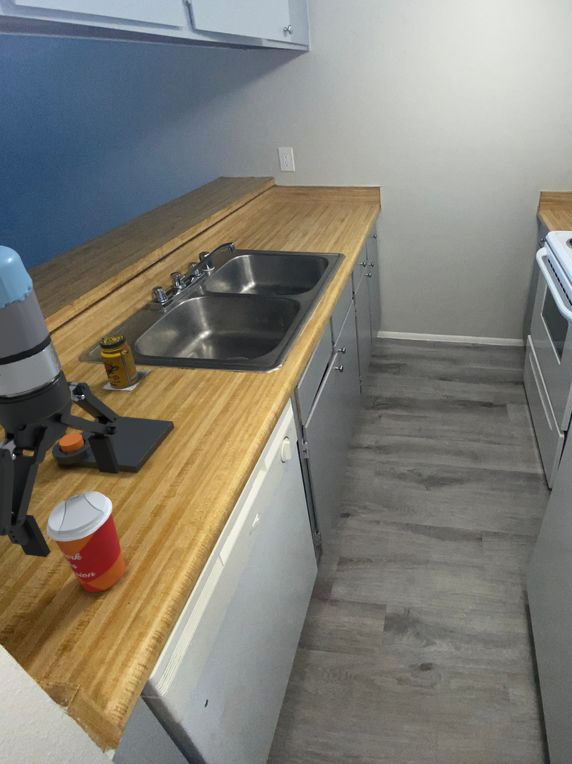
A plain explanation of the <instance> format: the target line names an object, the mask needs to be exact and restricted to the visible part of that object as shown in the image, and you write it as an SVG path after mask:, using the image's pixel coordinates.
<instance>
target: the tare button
mask: <svg viewBox="0 0 572 764" xmlns="http://www.w3.org/2000/svg"><path fill="white" fill-rule="evenodd" d="M79 433H80V432H73V433H68V434H65V435H64V436H63V437H62V438H61V439H59V441H60V442H59V441H58V442H59V444H60V447H61V449H62V451H63V452H64V453H70V452H74V451H76V450H78V449H80V448H81V447H82V446H83V445H84V441H83V438H82V435H81V434H79Z"/></svg>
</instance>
